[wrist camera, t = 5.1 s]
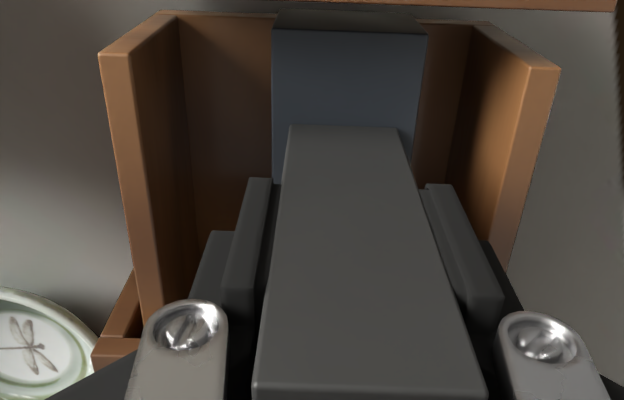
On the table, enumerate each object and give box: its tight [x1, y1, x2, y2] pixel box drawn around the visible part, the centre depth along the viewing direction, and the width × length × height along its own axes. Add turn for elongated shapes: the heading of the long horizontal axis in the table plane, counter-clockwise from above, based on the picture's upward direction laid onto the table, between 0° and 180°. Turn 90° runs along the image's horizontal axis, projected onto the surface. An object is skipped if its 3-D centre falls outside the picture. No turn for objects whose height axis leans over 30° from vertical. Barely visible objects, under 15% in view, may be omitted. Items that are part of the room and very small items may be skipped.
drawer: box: [98, 0, 618, 326], centre depth 16 cm, size 18×12×6 cm
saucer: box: [0, 287, 99, 400], centre depth 25 cm, size 10×10×2 cm
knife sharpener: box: [251, 8, 489, 400], centre depth 12 cm, size 4×8×12 cm, turn 178°
